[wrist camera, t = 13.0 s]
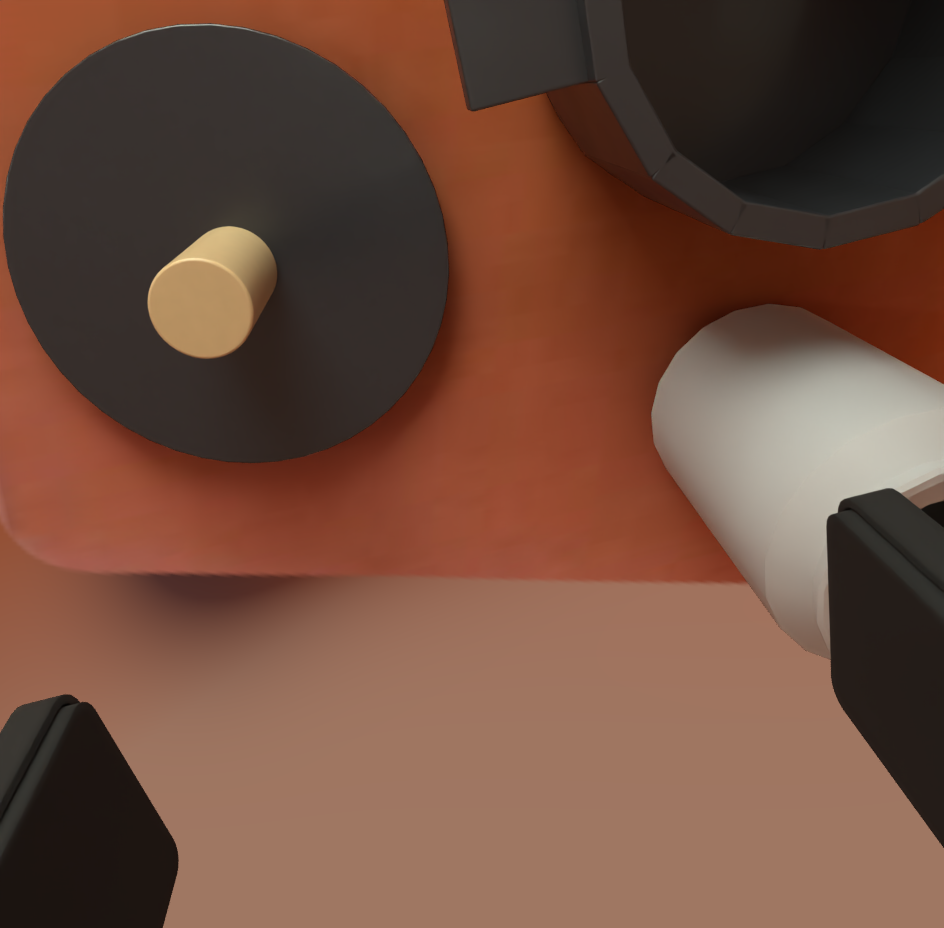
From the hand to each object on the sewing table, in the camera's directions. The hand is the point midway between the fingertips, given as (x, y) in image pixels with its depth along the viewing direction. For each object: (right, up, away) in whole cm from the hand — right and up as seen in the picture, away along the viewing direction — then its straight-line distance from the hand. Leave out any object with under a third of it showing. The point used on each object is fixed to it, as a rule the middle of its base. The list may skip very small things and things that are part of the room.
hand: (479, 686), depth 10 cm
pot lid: (-7, +9, +15) cm, 19 cm away
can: (+10, +5, +19) cm, 22 cm away
